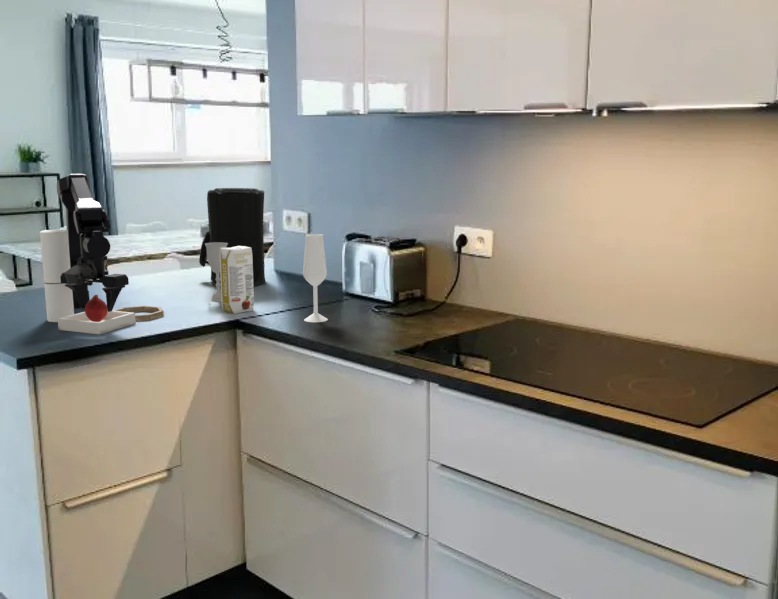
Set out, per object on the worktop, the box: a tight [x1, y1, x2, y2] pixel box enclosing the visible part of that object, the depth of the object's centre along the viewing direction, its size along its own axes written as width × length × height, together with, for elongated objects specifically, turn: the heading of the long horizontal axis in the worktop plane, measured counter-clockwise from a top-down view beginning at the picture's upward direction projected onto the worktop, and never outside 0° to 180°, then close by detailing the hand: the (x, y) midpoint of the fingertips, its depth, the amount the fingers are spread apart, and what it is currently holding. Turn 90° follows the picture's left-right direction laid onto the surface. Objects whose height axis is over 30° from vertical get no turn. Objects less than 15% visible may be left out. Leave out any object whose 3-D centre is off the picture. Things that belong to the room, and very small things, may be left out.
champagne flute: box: [302, 233, 329, 323], centre depth 223 cm, size 7×7×24 cm
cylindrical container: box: [39, 229, 75, 323], centre depth 223 cm, size 7×7×25 cm
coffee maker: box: [198, 187, 266, 287], centre depth 281 cm, size 23×32×34 cm
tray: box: [57, 311, 137, 335], centre depth 217 cm, size 14×14×3 cm
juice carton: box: [220, 246, 255, 315], centre depth 235 cm, size 8×9×19 cm
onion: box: [84, 294, 108, 322], centre depth 216 cm, size 6×6×8 cm
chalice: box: [205, 242, 228, 302], centre depth 252 cm, size 7×7×18 cm
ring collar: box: [112, 305, 165, 322], centre depth 230 cm, size 14×14×2 cm
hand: (96, 310), depth 216 cm, fingers open, 9 cm apart
